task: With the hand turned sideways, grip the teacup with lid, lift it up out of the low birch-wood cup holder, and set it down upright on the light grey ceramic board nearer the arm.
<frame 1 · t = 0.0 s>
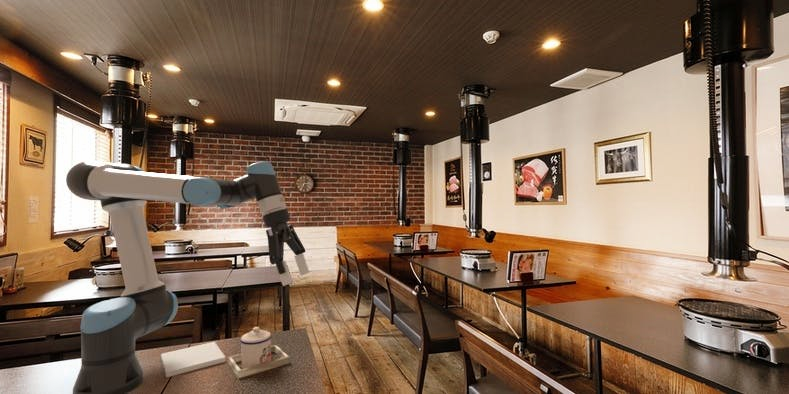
hand: (297, 279, 107), 28 cm above the table, tool tilted 20°, fingers open, 13 cm apart
teacup with lid: (258, 363, 113), resting in cup holder
ceramic board: (192, 360, 115), on the table
cup holder: (258, 363, 113), on the table
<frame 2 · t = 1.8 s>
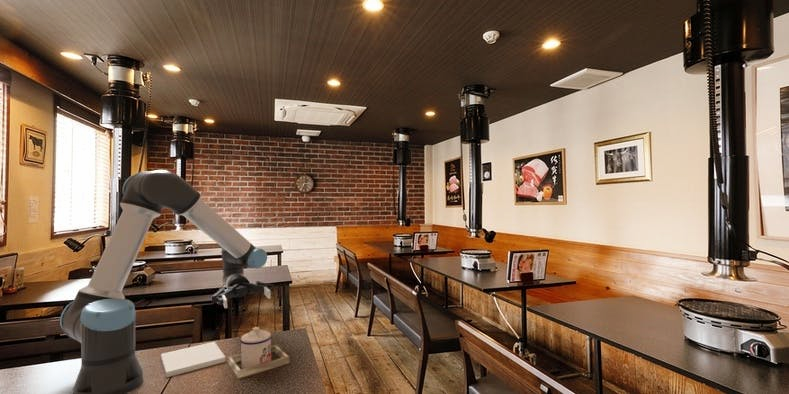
hand: (248, 299, 118), 19 cm above the table, tool horizontal, fingers open, 13 cm apart
nothing on the table moved.
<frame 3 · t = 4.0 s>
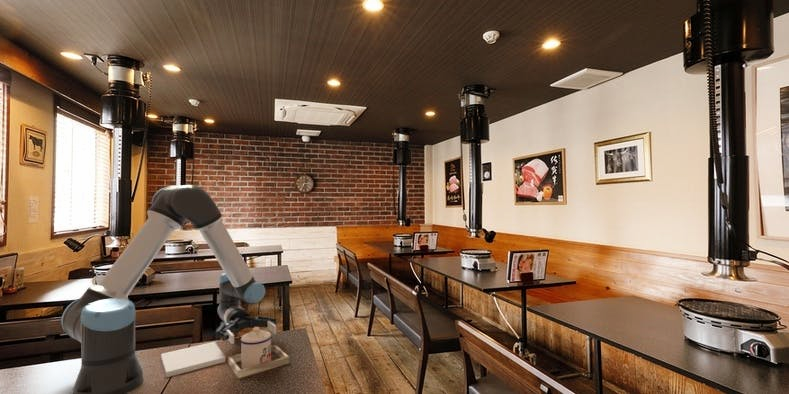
hand: (254, 334, 118), 7 cm above the table, tool horizontal, fingers open, 13 cm apart
nothing on the table moved.
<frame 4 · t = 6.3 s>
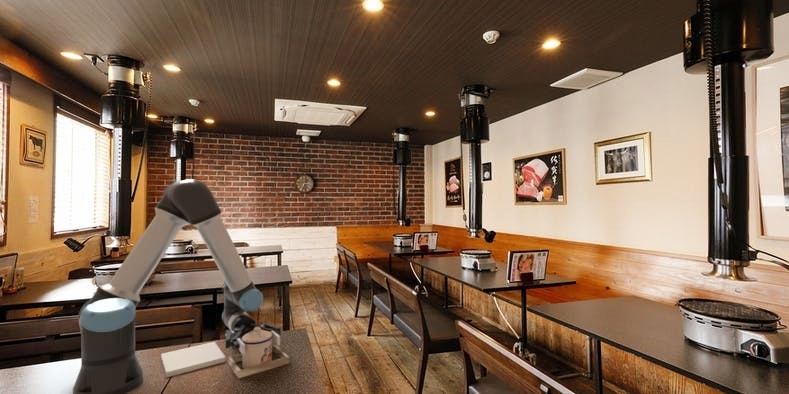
hand: (261, 345, 109), 7 cm above the table, tool horizontal, fingers open, 10 cm apart
teacup with lid: (259, 363, 113), resting in cup holder, touching gripper
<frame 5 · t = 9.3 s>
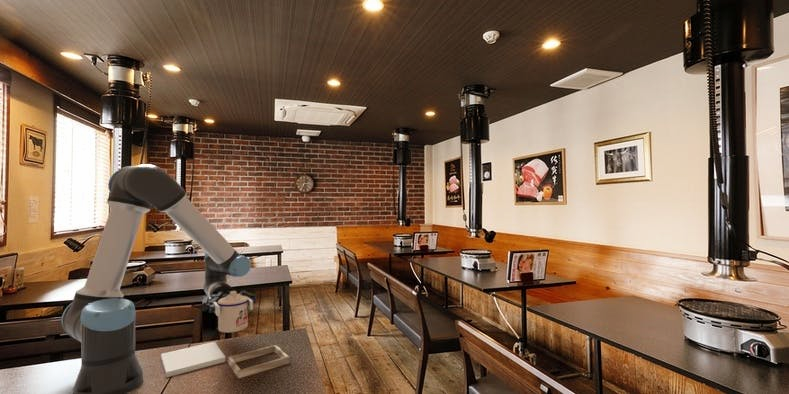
hand: (235, 308, 111), 18 cm above the table, tool horizontal, fingers closed on teacup with lid, 9 cm apart
teacup with lid: (235, 326, 116), point 11 cm above the table, touching gripper
when the fingers open (10 cm above the table, at t = 12.3 s): teacup with lid drops 1 cm, resting on ceramic board.
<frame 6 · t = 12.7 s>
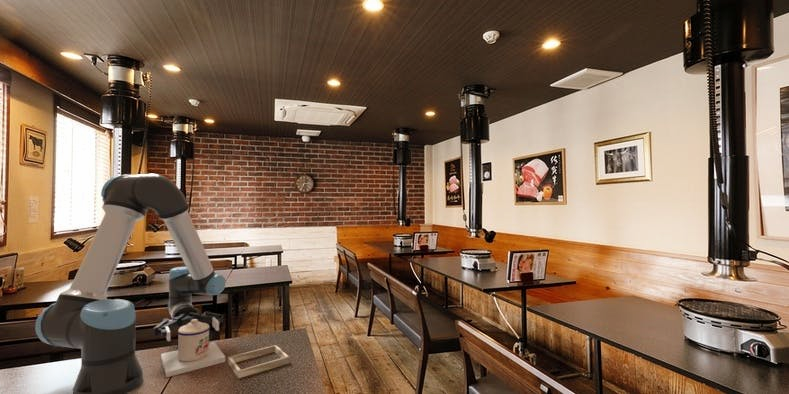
hand: (194, 331, 113), 10 cm above the table, tool horizontal, fingers open, 13 cm apart
teacup with lid: (195, 354, 116), point 1 cm above the table, touching ceramic board
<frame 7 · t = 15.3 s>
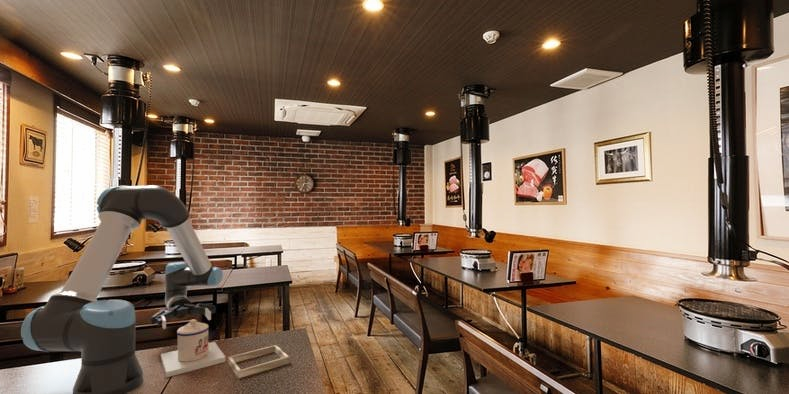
hand: (187, 320, 123), 10 cm above the table, tool horizontal, fingers open, 13 cm apart
nothing on the table moved.
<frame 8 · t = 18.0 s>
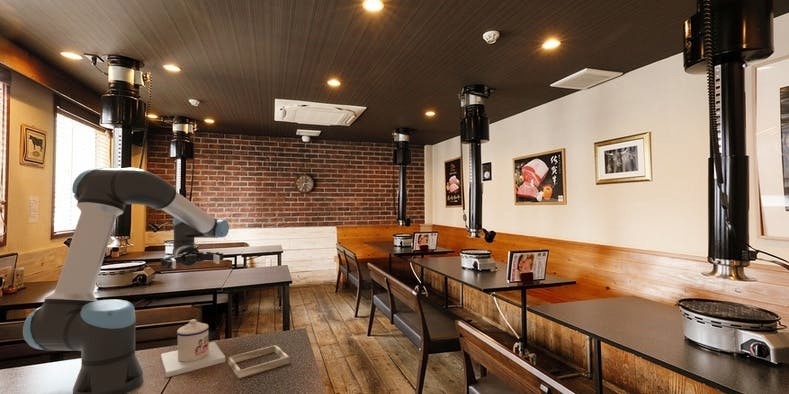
hand: (197, 262, 125), 30 cm above the table, tool horizontal, fingers open, 13 cm apart
nothing on the table moved.
at the end: teacup with lid inside the target area on the ceramic board (1.0 cm from its centre), point 1.3 cm above the ceramic board's base; teacup with lid tilted 0°; the gripper is holding nothing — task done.
